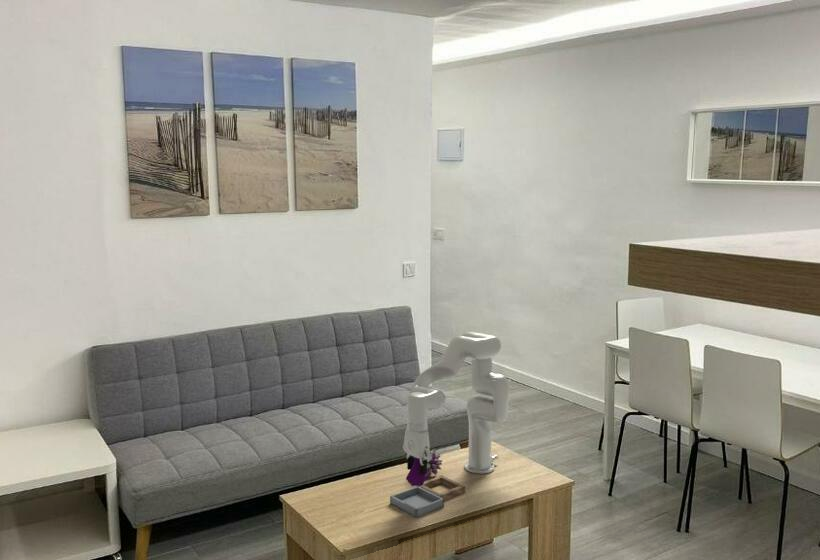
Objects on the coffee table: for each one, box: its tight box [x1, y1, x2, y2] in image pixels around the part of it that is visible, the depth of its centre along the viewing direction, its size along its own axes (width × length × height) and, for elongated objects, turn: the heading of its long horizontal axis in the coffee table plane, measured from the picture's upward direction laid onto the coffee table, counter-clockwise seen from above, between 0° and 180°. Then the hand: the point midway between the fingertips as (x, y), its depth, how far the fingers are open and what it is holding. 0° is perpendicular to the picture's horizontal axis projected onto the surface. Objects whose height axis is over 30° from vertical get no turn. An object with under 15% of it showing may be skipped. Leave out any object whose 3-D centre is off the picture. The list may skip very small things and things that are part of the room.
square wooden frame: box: [419, 474, 466, 501], centre depth 292 cm, size 14×14×2 cm
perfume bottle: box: [405, 457, 429, 487], centre depth 278 cm, size 8×8×18 cm
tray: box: [389, 486, 445, 518], centre depth 281 cm, size 14×15×3 cm
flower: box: [422, 448, 443, 478], centre depth 306 cm, size 12×12×12 cm
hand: (417, 471), depth 279 cm, fingers closed on perfume bottle, 6 cm apart
